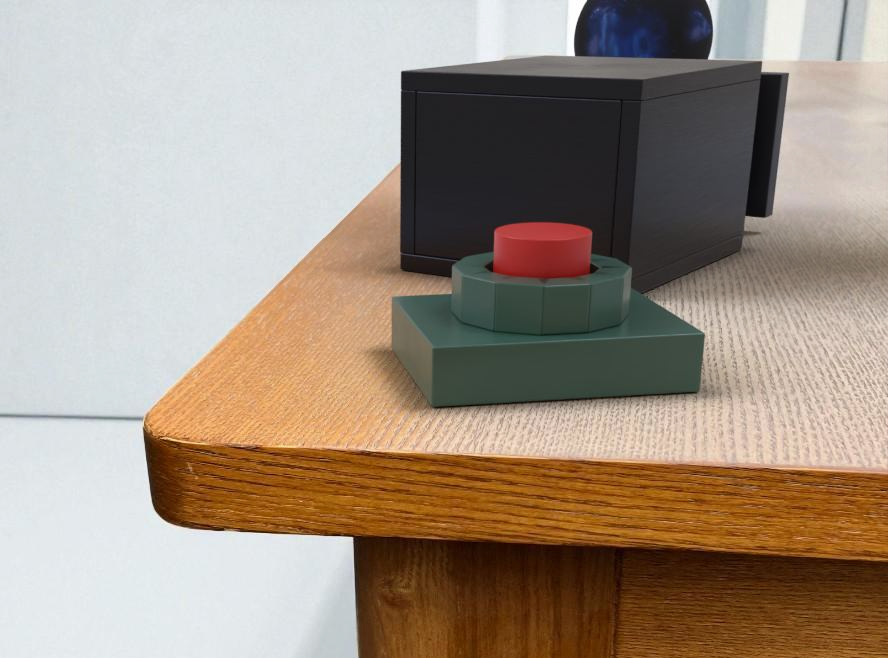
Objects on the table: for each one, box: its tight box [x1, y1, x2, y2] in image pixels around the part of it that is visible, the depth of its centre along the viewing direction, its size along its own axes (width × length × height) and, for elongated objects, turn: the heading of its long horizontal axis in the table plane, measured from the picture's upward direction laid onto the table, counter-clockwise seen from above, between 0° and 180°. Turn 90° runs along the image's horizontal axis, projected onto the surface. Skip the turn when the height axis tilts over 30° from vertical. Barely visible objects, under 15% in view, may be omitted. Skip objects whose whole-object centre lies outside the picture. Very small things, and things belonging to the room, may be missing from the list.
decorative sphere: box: [573, 0, 714, 60], centre depth 143 cm, size 15×15×15 cm
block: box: [391, 252, 706, 408], centre depth 49 cm, size 10×8×4 cm
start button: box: [493, 222, 592, 279], centre depth 48 cm, size 4×4×2 cm
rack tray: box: [745, 71, 790, 219], centre depth 73 cm, size 18×12×8 cm, turn 144°
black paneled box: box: [399, 55, 763, 294], centre depth 67 cm, size 15×13×10 cm
